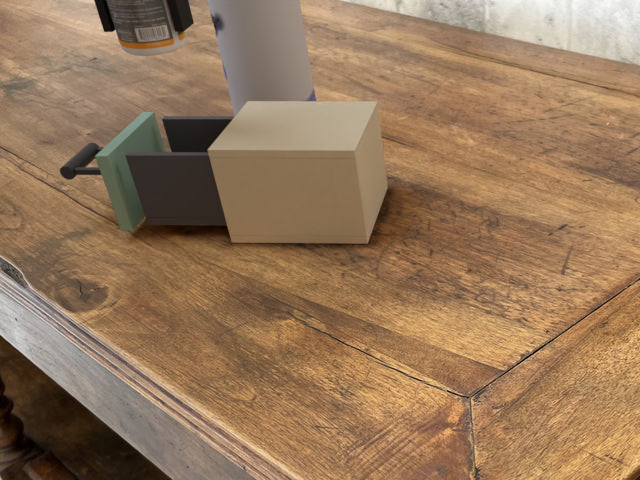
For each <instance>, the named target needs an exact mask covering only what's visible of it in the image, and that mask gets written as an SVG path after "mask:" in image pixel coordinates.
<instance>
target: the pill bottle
mask: <svg viewBox="0 0 640 480" xmlns="http://www.w3.org/2000/svg"><path fill="white" fill-rule="evenodd" d="M106 2H107V5H108V8H109V11H110V14H111V18H112V21H113V24H114V27H115V30H114V31H115V33H116V36H117V40H118V42H119V44H120V48H121V49H122V50H123V52H125V53H126V54H128V55H132V56H138V57H150V56H151V57H152V56H153V57H154V56H161V55H164V54H165V55H166V54H170V53H174V52H176V51H178V50H180V49H181V48H183V47H184V46H185V44H186V41H187V38H186V37H187V36H186V33H185V31H184V32H175V29H174V25H173V21H172V17H171V14H170V10H169V6H168V2H167V0H106Z"/></svg>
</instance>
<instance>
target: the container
mask: <svg viewBox="0 0 640 480" xmlns="http://www.w3.org/2000/svg"><path fill="white" fill-rule="evenodd" d="M207 4H208V10H209V14H210V17H211V18H210V19H211V22H212V23H213V28H214V31H215V38H216V43H217V47H218V52H219V57H220V60H221V65H222V69H223V74H224V78H225V82H226V87H227V90H228V94H229V98H230V103H231V108H232V112H233V115H234V116H236V115H237V114H238V112H239V111H240V110H241V109H242V108H243V106H244V105H245V104H246V103H247V101H317V97H316V92H315V91H316V90H315V83H314V78H313V72H312V66H311V61H310V55H309V49H308V43H307V42H308V41H307V36H306V31H305V24H304V19H303V12H302V6H301V1H300V0H207Z"/></svg>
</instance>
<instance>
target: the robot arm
mask: <svg viewBox="0 0 640 480" xmlns="http://www.w3.org/2000/svg"><path fill="white" fill-rule="evenodd" d="M93 1H94V5H95V7H96V10H97V15H98V18H99V20H100V23H101V27H102V30H103V32H104V33H113V32H115V31H116V30H115V27H114V24H113V21H112V18H111V14H110V11H109V8H108V5H107V2H106V0H93ZM167 2H168V6H169V10H170V14H171V17H172V21H173V25H174V29H175V32H185V31H186V30H187V29H189V28H190V27H192V25H194V24H195V22H194V21H195V20H194V17H193V14H192V10H191V5H190V2H189V0H167Z"/></svg>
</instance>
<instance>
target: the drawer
mask: <svg viewBox="0 0 640 480" xmlns="http://www.w3.org/2000/svg"><path fill="white" fill-rule="evenodd" d="M234 117H235V116H231V115H224V116H223V115H222V116H221V115H220V116H218V115H215V116H214V115H211V116H210V115H209V116H208V115H206V116H205V115H204V116H203V115H200V116H199V115H197V116H196V115H164V116H163V117H162V118H161V121H162V125H163V127H164V131H165V134H166V138H167V142H168V145H169V148H170V151H166V148H165V144H164V140H163V138H162V134H161V131H160V128H159V127H160V126H159V123H158V119H157V117H156V114H155V111H142V112H140V114H139V115H137V117H136V118H134V119H133V121H131V122H130V123H129V124H128V125H127V126H126V127H125V128H123V130H121V131H120V132H119V133H118V134H117V135H115V137H113V139H112V140H111V141H110V142H108V143H107V144H106V145H105V146H99V145H98V144H97V143H96V142H89V143H87V144H85V146H84V147H83V148H82V149H80V150H79V151H78V152H77V153H76V154H75V155H73V156H72V157H71V158H70V159H69V160H68V161H67V162H65V163H64V164H63V165H62V166H61V167H60V168H59V174H60V175H61V177H62V178H64V179H65V180H67V181H68V180H70V181H72V180H73V179H75V178H76V177H77V176H101V177H102V180H103V183H104V186H105V190H106V192H107V194H108V197H109V200H110V203H111V205H112V209H113V211H114V214H115V217H116V219H117V223H118V226H119V228H120V231H121V232H133V231H134V230H136V228H137V226H139V225H140V223H141V222H143V220H144V219H145V220H146V223H147V225H148V226H227V223H226V219H225V215H224V211H223V208H222V204H221V200H220V196H219V192H218V188H217V185H216V181H215V177H214V173H213V169H212V166H211V162H210V158H209V154H208V148H209V147H210V146H211V145H212V144H213V142H214V141H215V140H216V139H217V138H218V136H219V135H220V134H221V133H222V132H223V130H224V129H225V128H226V127H227V126H228V124H229V123H230V122H231V121H232V120H233V118H234ZM94 160H95V161H96V164H97V167H96V166H93V167H91V166H89V165H90V164H91V163H92V162H93V161H94Z"/></svg>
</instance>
